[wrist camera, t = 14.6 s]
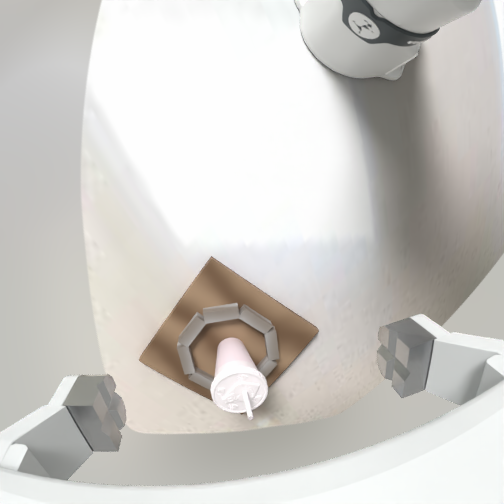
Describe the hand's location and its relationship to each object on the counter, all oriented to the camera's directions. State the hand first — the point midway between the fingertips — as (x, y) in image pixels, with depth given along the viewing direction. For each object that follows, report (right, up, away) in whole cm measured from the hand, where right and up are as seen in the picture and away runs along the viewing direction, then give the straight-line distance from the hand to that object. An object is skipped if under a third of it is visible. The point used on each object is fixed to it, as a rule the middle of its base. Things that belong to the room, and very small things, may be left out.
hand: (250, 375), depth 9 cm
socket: (-3, -9, +34) cm, 35 cm away
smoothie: (-3, -10, +33) cm, 35 cm away
